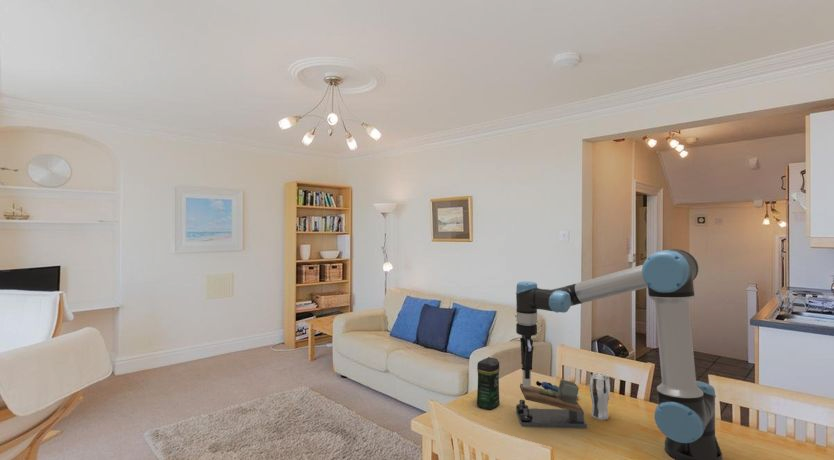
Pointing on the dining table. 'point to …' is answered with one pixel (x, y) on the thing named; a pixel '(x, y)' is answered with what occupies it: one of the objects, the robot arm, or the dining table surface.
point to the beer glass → (599, 396)
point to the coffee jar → (488, 383)
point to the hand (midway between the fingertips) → (526, 386)
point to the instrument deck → (547, 399)
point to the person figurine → (549, 386)
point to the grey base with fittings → (549, 417)
